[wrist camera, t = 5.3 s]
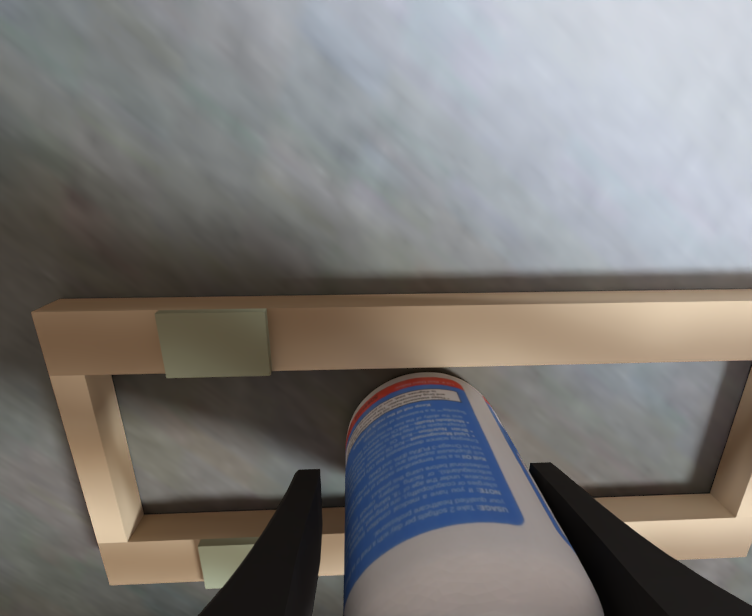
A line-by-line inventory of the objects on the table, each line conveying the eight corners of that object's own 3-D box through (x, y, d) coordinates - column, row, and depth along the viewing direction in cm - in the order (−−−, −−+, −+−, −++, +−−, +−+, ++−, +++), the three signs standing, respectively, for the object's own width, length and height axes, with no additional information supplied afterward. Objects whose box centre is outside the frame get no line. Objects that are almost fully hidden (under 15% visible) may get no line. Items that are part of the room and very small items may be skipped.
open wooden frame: (720, 531, 17) (752, 563, 16) (127, 555, 16) (105, 593, 15) (806, 288, 14) (857, 302, 12) (59, 298, 13) (22, 315, 11)
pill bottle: (318, 457, 15) (261, 915, 6) (397, 340, 14) (484, 699, 5) (442, 514, 16) (554, 971, 7) (526, 411, 15) (803, 812, 6)
